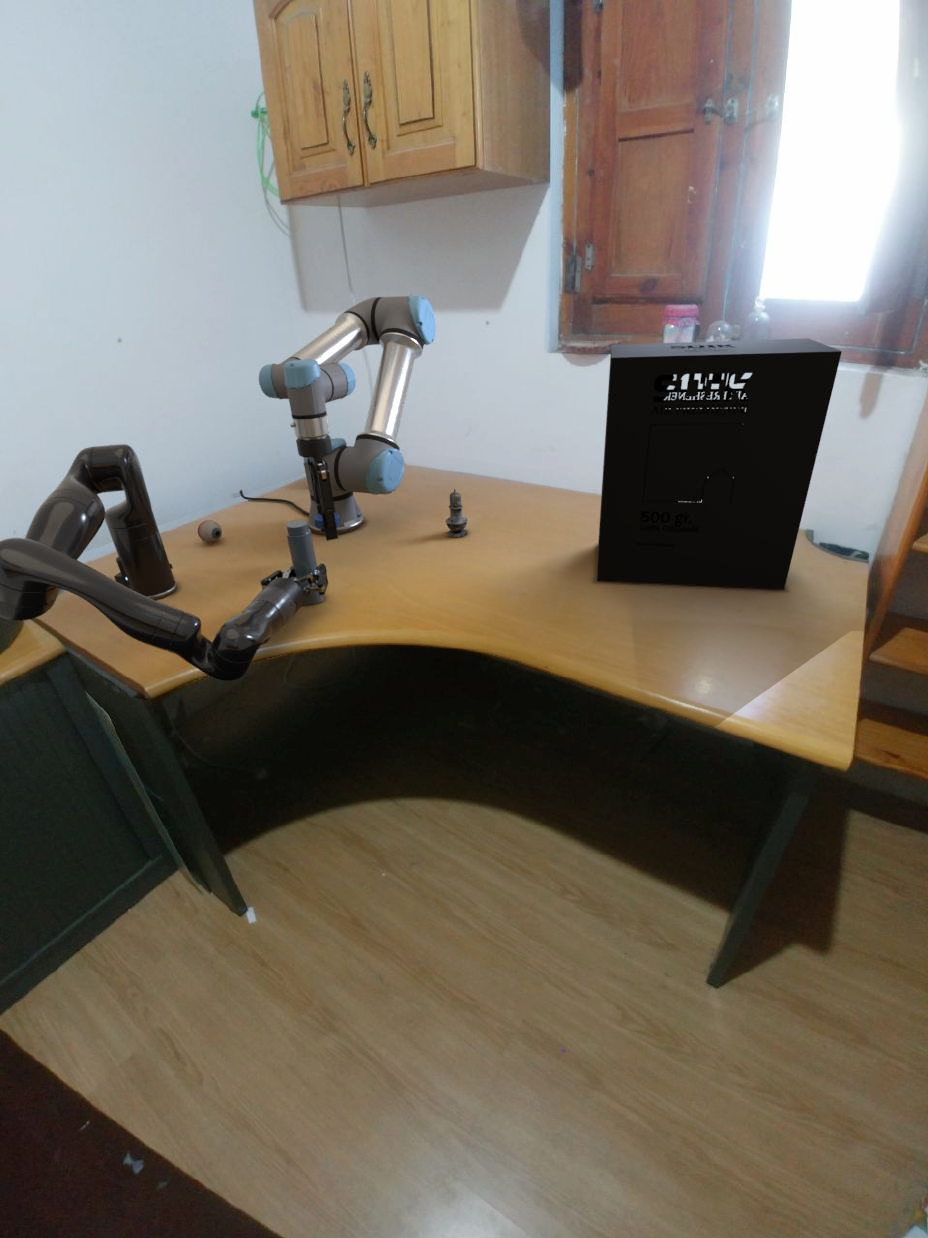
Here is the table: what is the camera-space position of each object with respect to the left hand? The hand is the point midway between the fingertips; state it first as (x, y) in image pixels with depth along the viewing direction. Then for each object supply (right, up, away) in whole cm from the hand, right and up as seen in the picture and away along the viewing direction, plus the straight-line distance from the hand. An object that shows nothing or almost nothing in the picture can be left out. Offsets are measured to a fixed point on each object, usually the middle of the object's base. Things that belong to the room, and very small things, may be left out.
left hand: (311, 567), depth 130 cm
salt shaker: (+31, +11, +29) cm, 44 cm away
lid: (0, +13, +12) cm, 18 cm away
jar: (0, -7, +1) cm, 7 cm away
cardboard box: (+82, +1, +6) cm, 83 cm away
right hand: (+1, +9, +14) cm, 17 cm away
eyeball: (-35, +9, +33) cm, 49 cm away
